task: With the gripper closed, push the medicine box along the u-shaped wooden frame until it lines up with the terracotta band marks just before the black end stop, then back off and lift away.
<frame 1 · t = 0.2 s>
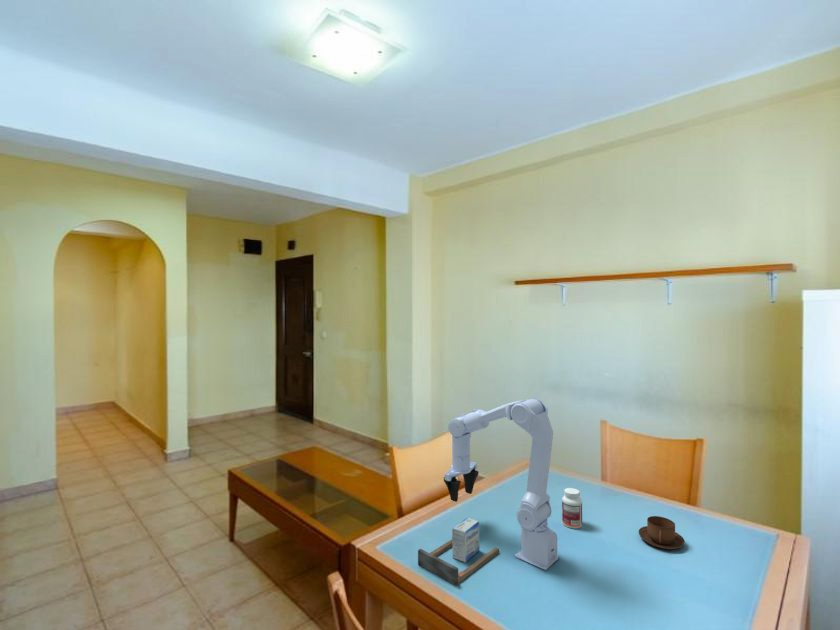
hand: (461, 496, 139), 10 cm above the table, tool pointing down, fingers open, 7 cm apart
u-shaped wooden frame: (459, 558, 121), on the table
medicine box: (466, 555, 123), resting in u-shaped wooden frame
cup and saucer: (661, 542, 129), on the table
pill bottle: (572, 525, 140), on the table
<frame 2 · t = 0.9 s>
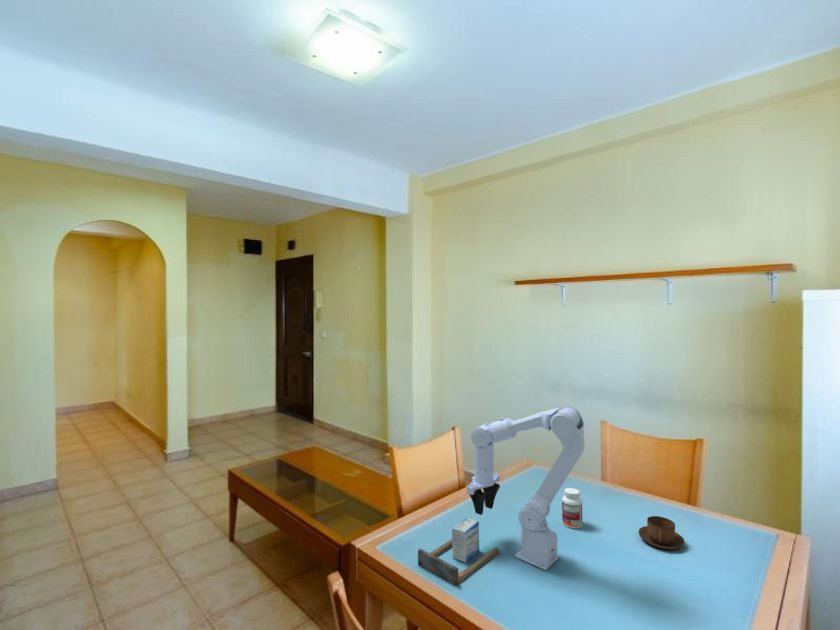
hand: (484, 510, 130), 9 cm above the table, tool pointing down, fingers open, 5 cm apart
nothing on the table moved.
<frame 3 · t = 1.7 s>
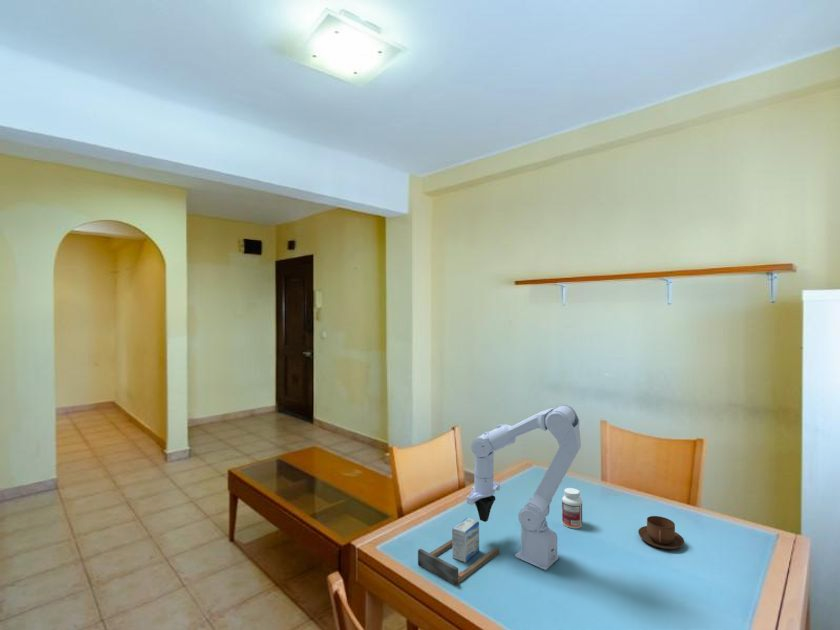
hand: (483, 520, 130), 6 cm above the table, tool pointing down, fingers closed
nothing on the table moved.
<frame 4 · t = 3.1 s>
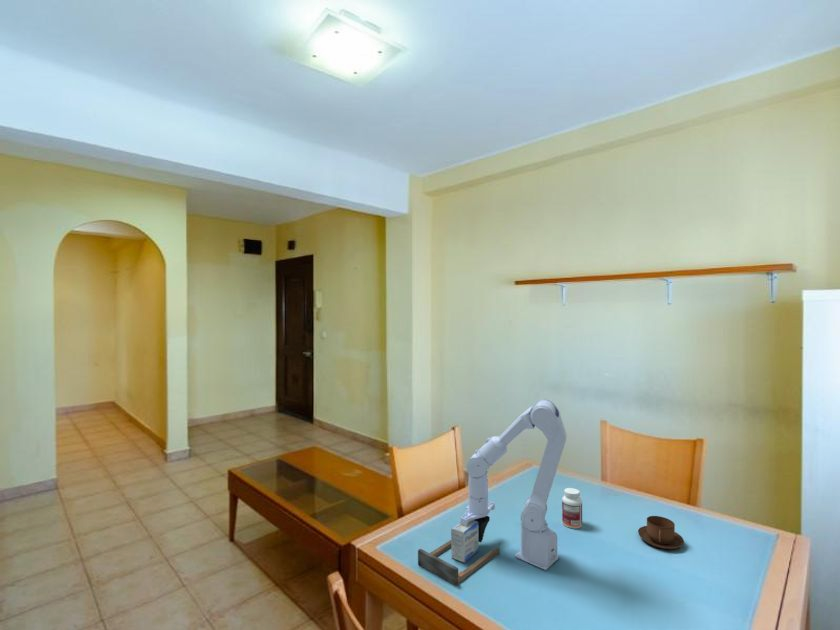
hand: (478, 540, 128), 1 cm above the table, tool pointing down, fingers closed
medicine box: (465, 555, 123), resting in u-shaped wooden frame, touching gripper
everything else where it was.
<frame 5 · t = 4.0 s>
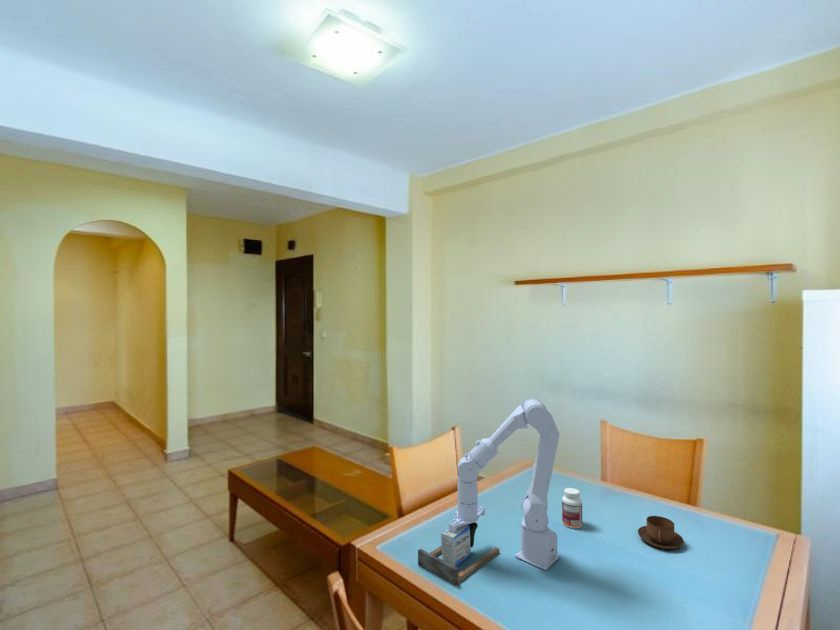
hand: (467, 547, 124), 2 cm above the table, tool pointing down, fingers closed, pressing on medicine box
medicine box: (456, 559, 121), resting in u-shaped wooden frame, touching gripper
everything else where it was.
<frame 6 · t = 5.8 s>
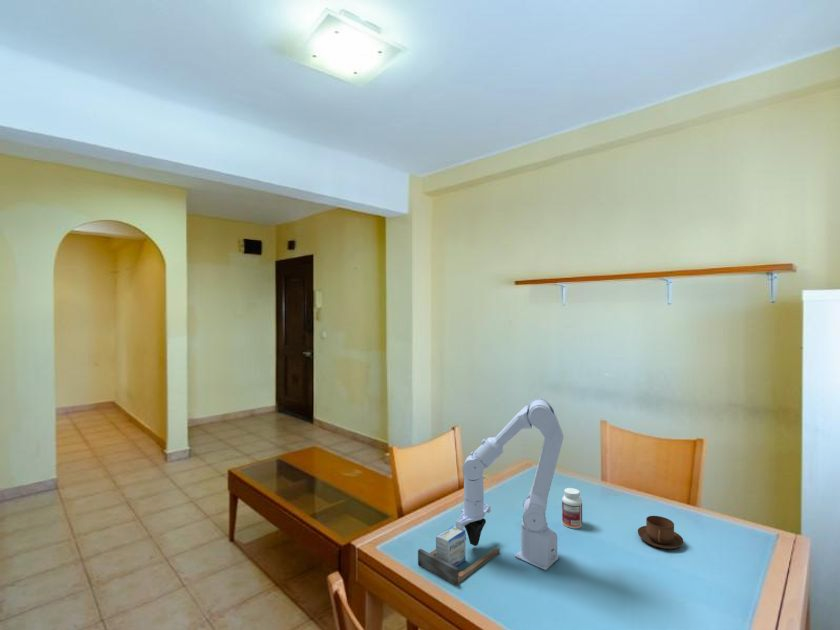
hand: (474, 544, 126), 1 cm above the table, tool pointing down, fingers closed
medicine box: (451, 564, 119), resting in u-shaped wooden frame
everything else where it was.
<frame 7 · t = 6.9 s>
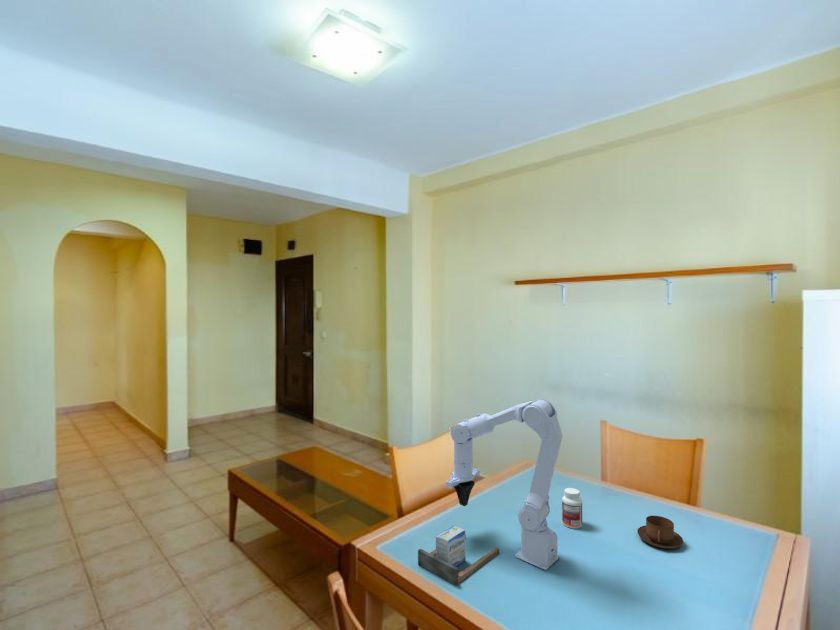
hand: (463, 504, 134), 9 cm above the table, tool pointing down, fingers closed
nothing on the table moved.
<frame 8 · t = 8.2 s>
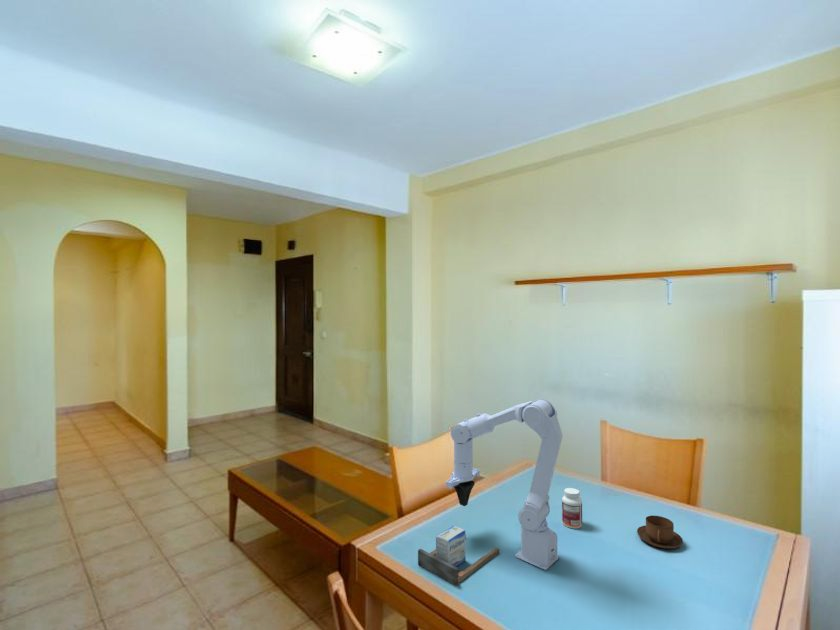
hand: (463, 504, 134), 9 cm above the table, tool pointing down, fingers closed
nothing on the table moved.
at the end: medicine box 0.4 cm from the target spot, resting in u-shaped wooden frame; medicine box tilted 0°; the gripper is holding nothing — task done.
